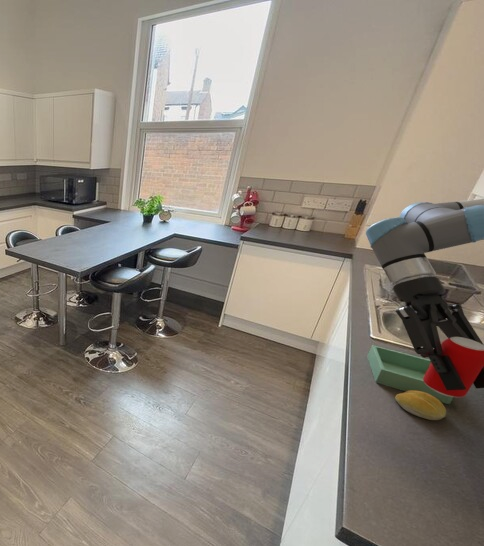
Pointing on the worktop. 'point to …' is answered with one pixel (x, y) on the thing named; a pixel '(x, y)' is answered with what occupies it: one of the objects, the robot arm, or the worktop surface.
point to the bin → (401, 371)
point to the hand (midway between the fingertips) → (471, 388)
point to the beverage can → (458, 365)
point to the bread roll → (421, 404)
